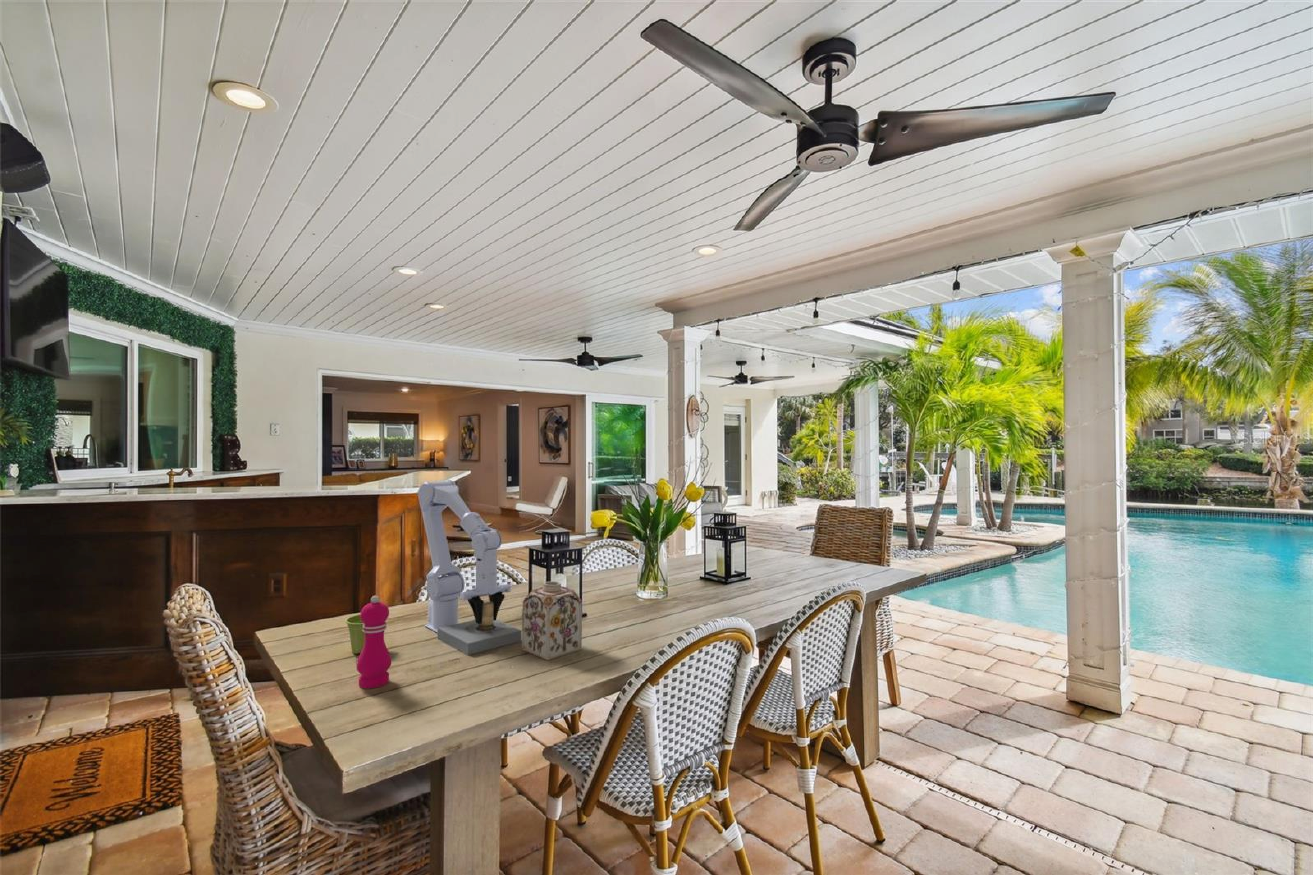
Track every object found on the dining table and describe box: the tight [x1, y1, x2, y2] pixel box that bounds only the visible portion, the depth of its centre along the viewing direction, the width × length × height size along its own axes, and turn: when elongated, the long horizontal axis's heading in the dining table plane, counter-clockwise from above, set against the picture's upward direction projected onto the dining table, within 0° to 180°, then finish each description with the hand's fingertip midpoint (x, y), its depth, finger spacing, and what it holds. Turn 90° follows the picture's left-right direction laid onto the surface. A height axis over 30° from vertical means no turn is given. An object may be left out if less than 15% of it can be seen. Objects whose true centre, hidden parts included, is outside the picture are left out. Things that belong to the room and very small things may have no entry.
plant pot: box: [345, 613, 365, 655], centre depth 157 cm, size 9×9×9 cm
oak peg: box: [479, 600, 494, 631], centre depth 167 cm, size 4×4×9 cm
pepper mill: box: [356, 595, 392, 689], centre depth 135 cm, size 7×7×20 cm
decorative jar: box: [521, 580, 583, 661], centre depth 158 cm, size 12×12×18 cm
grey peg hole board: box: [437, 619, 522, 656], centre depth 166 cm, size 18×16×3 cm
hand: (485, 621), depth 167 cm, fingers closed on oak peg, 4 cm apart
